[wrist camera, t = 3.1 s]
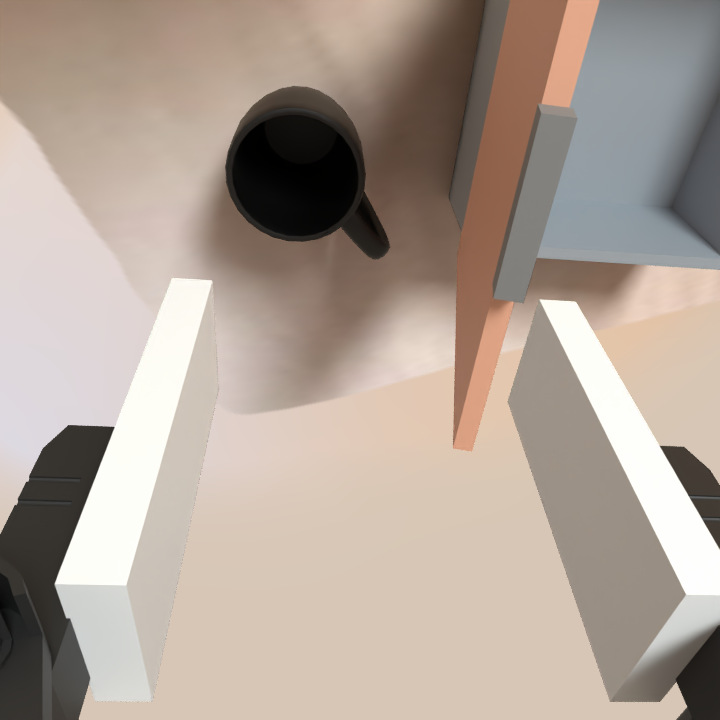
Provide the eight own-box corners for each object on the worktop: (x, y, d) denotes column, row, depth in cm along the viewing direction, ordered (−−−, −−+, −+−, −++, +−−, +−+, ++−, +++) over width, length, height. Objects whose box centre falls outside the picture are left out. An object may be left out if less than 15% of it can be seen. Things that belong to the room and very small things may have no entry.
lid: (471, 255, 41) (455, 253, 41) (571, -194, 28) (548, -197, 28) (474, 469, 26) (450, 464, 26) (699, -296, 13) (648, -301, 13)
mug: (333, 238, 50) (334, 303, 42) (217, 123, 44) (195, 174, 37) (415, 171, 47) (432, 228, 39) (302, 37, 41) (296, 73, 34)
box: (448, 197, 48) (469, 253, 41) (519, -180, 35) (568, -194, 28) (673, 213, 50) (731, 270, 43) (822, -141, 37) (942, -145, 29)
